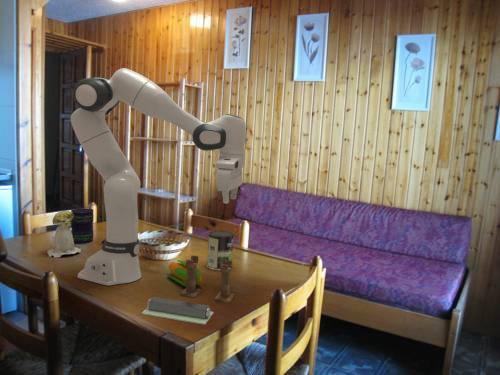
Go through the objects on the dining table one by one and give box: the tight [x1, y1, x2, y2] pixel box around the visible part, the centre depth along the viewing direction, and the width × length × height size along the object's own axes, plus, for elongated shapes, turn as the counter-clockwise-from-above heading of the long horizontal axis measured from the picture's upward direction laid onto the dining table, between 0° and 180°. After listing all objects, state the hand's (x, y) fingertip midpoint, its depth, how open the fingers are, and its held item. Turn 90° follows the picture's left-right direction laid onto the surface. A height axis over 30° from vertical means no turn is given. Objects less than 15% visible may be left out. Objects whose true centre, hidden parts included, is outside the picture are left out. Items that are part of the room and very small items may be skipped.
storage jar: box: [70, 207, 94, 245], centre depth 191 cm, size 10×10×15 cm
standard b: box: [214, 259, 235, 304], centre depth 136 cm, size 5×6×12 cm
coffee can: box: [206, 229, 235, 271], centre depth 167 cm, size 10×10×14 cm
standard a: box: [180, 255, 202, 298], centre depth 139 cm, size 5×6×12 cm
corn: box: [166, 259, 203, 288], centre depth 149 cm, size 7×8×20 cm
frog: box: [47, 210, 82, 258], centre depth 172 cm, size 12×13×18 cm
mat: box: [141, 307, 214, 325], centre depth 123 cm, size 20×8×1 cm, turn 77°
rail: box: [146, 296, 211, 319], centre depth 123 cm, size 19×3×3 cm, turn 77°
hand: (229, 201), depth 144 cm, fingers open, 8 cm apart
